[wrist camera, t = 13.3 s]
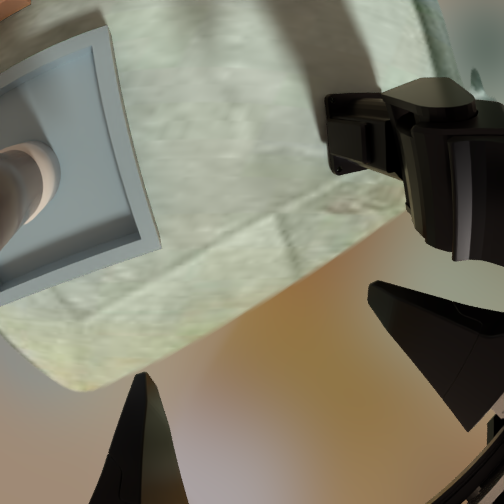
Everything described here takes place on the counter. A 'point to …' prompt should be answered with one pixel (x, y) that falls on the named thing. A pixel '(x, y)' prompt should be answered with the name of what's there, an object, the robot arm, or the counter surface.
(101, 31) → the parts tray
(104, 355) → the counter surface
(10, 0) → the socket ring
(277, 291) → the counter surface
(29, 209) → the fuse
